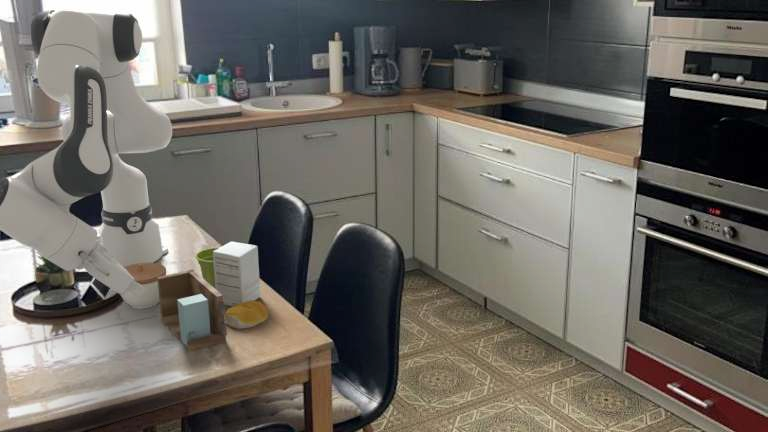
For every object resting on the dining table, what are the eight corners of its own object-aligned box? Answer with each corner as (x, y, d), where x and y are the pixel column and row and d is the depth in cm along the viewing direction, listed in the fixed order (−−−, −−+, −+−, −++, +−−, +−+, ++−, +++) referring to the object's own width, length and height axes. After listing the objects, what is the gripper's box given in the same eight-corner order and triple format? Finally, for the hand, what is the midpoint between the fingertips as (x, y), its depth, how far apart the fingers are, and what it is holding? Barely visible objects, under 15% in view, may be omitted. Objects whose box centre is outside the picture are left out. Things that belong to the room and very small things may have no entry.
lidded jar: (154, 289, 181) (150, 252, 178) (178, 303, 174) (174, 264, 171) (110, 303, 174) (106, 264, 171) (134, 317, 167) (129, 277, 164)
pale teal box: (181, 340, 157) (177, 299, 154) (204, 333, 159) (201, 293, 156) (189, 349, 153) (185, 307, 150) (213, 342, 155) (210, 301, 153)
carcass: (161, 320, 165) (157, 277, 162) (196, 311, 169) (192, 269, 166) (191, 353, 151) (187, 306, 148) (228, 342, 155) (225, 297, 152)
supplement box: (234, 291, 180) (231, 240, 175) (261, 297, 177) (258, 245, 173) (215, 303, 173) (211, 250, 169) (242, 309, 170) (239, 256, 166)
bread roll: (275, 317, 167) (274, 300, 166) (245, 333, 160) (244, 315, 159) (247, 308, 171) (246, 291, 170) (217, 323, 165) (216, 305, 163)
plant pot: (229, 278, 187) (227, 244, 185) (245, 290, 180) (243, 255, 177) (192, 286, 183) (189, 252, 180) (207, 299, 175) (204, 264, 172)
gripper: (100, 247, 130) (162, 288, 138) (71, 216, 146) (128, 254, 154) (76, 278, 129) (140, 316, 137) (49, 243, 145) (108, 280, 153)
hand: (133, 283), depth 146 cm, fingers open, 8 cm apart
